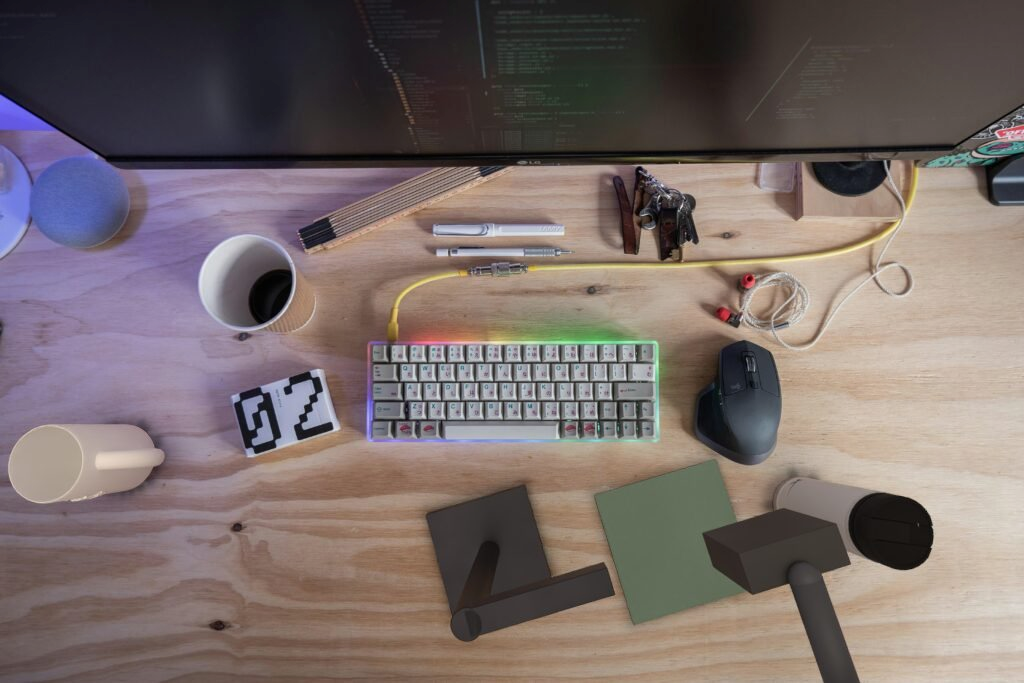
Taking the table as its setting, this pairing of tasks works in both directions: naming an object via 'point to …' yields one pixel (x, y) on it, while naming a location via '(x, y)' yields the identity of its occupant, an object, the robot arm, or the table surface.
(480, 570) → the stand
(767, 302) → the table surface
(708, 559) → the desk mat
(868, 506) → the travel mug
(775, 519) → the square-ended dumbbell
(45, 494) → the mug
